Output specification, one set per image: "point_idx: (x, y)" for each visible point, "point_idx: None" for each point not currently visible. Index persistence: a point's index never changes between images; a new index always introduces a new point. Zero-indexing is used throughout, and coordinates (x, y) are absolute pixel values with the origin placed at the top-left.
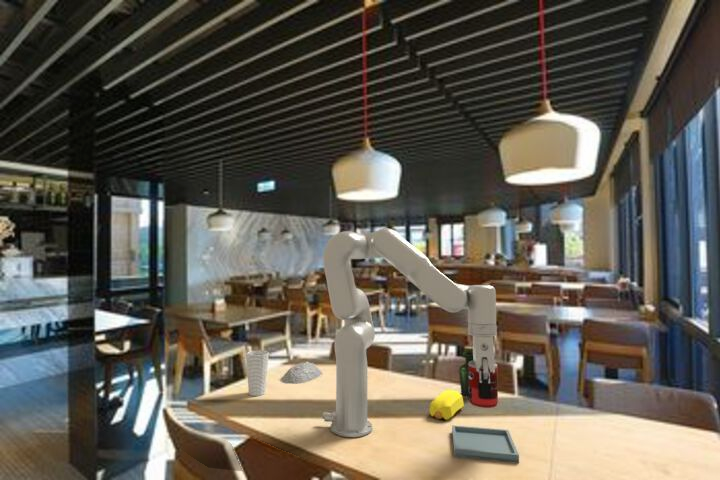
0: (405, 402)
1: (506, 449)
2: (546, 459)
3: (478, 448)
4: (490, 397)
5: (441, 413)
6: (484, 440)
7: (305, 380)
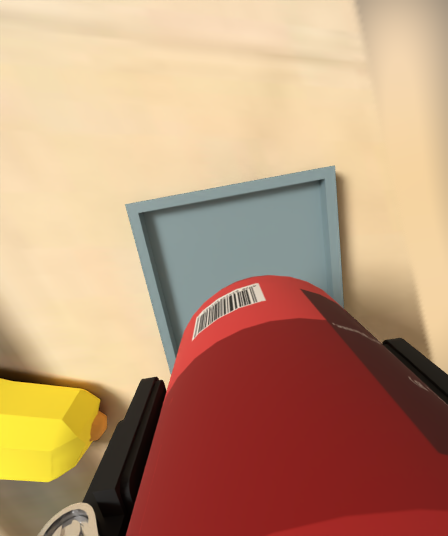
0: (12, 511)
1: (263, 207)
2: (268, 72)
3: None
4: (400, 340)
5: (93, 423)
6: (219, 277)
7: None
